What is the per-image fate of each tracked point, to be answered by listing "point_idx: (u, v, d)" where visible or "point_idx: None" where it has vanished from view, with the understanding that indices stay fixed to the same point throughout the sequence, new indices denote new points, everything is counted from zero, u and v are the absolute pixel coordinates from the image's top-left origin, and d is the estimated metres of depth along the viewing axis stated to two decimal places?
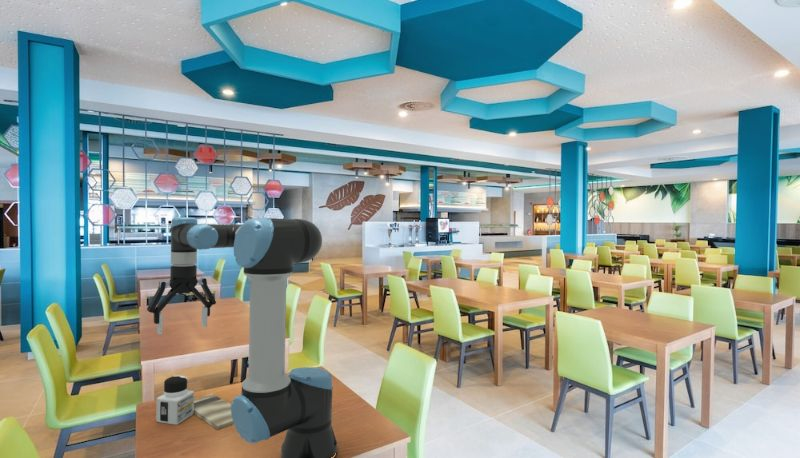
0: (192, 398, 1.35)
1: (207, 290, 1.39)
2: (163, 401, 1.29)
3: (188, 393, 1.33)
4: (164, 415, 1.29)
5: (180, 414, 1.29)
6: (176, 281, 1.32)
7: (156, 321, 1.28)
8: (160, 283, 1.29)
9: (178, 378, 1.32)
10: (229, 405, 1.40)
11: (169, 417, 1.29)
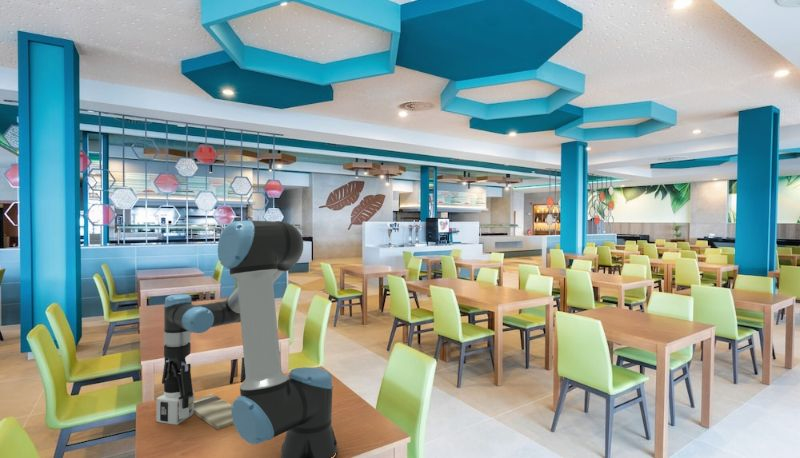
0: (192, 398, 1.34)
1: (182, 379, 1.27)
2: (163, 401, 1.29)
3: None
4: (164, 415, 1.29)
5: None
6: None
7: None
8: None
9: None
10: (229, 405, 1.40)
11: (169, 417, 1.29)
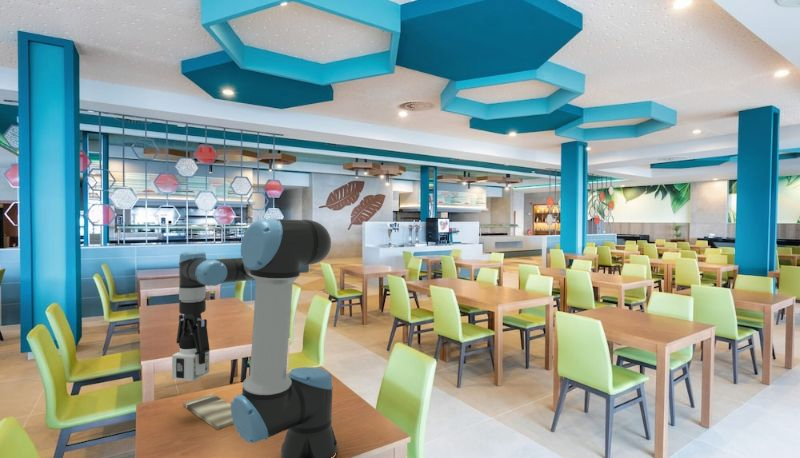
0: (207, 356, 1.33)
1: (198, 334, 1.27)
2: (179, 357, 1.28)
3: None
4: (180, 372, 1.28)
5: None
6: (185, 315, 1.32)
7: None
8: None
9: None
10: (229, 405, 1.40)
11: (185, 374, 1.27)
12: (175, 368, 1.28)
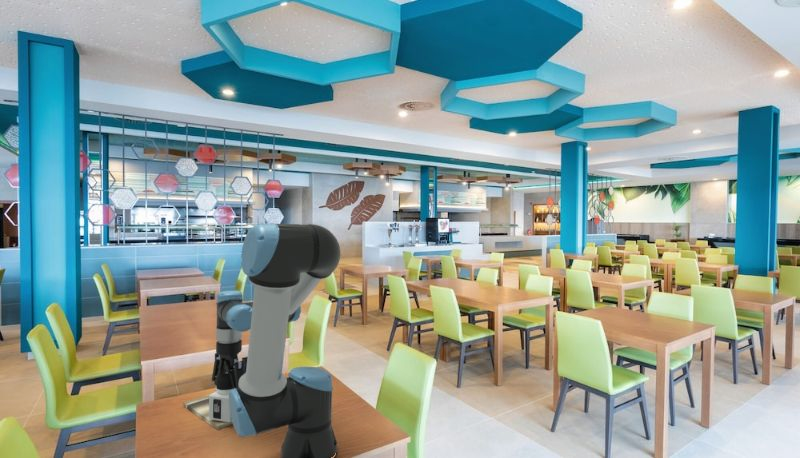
0: None
1: (235, 376, 1.26)
2: (216, 398, 1.28)
3: None
4: (217, 413, 1.28)
5: None
6: (221, 354, 1.32)
7: None
8: None
9: None
10: None
11: (222, 415, 1.27)
12: (212, 409, 1.28)
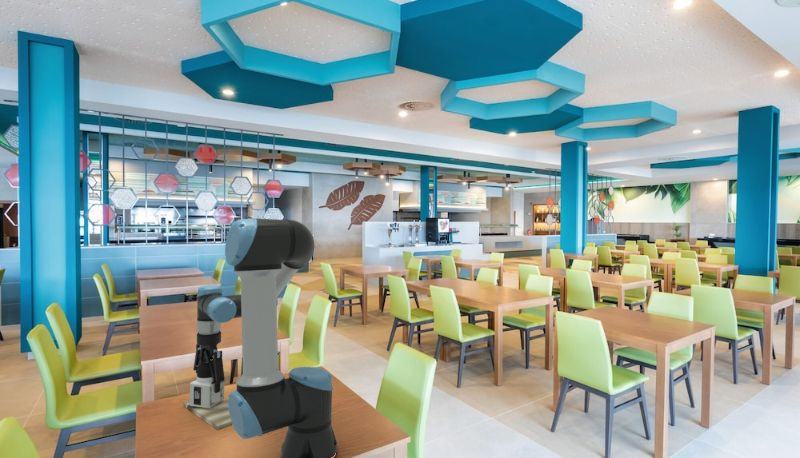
0: (223, 384, 1.42)
1: (214, 365, 1.35)
2: (196, 386, 1.36)
3: None
4: (197, 399, 1.36)
5: None
6: None
7: None
8: None
9: None
10: None
11: (202, 401, 1.36)
12: (193, 395, 1.37)
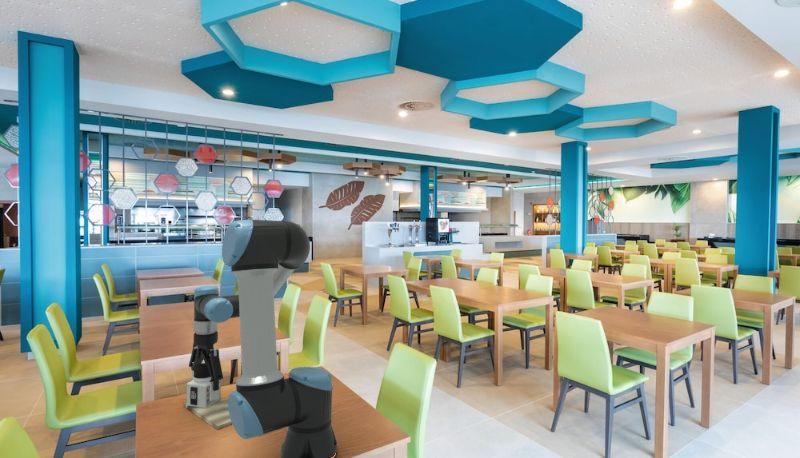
0: (219, 384, 1.43)
1: (212, 363, 1.36)
2: (193, 386, 1.38)
3: None
4: (194, 399, 1.38)
5: (208, 398, 1.38)
6: None
7: None
8: None
9: (206, 365, 1.41)
10: None
11: (198, 401, 1.37)
12: (189, 395, 1.38)
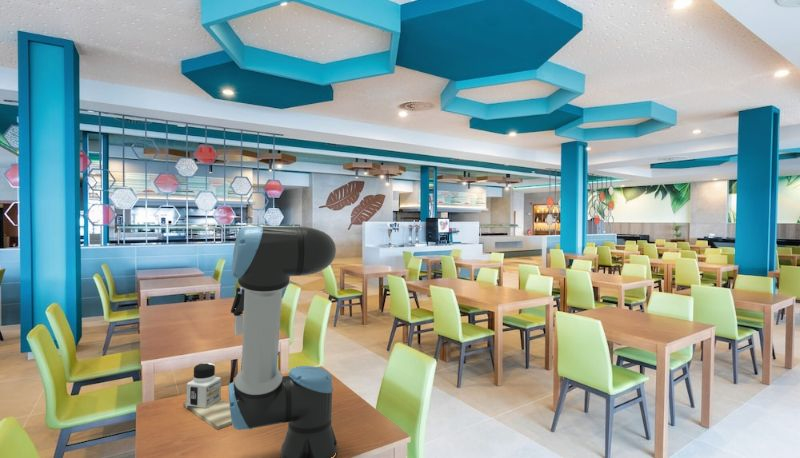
0: (219, 384, 1.43)
1: None
2: (193, 386, 1.38)
3: (216, 379, 1.42)
4: (194, 399, 1.38)
5: (208, 398, 1.38)
6: (243, 289, 1.42)
7: (235, 322, 1.45)
8: None
9: (206, 365, 1.41)
10: (229, 405, 1.40)
11: (198, 401, 1.37)
12: (189, 395, 1.38)
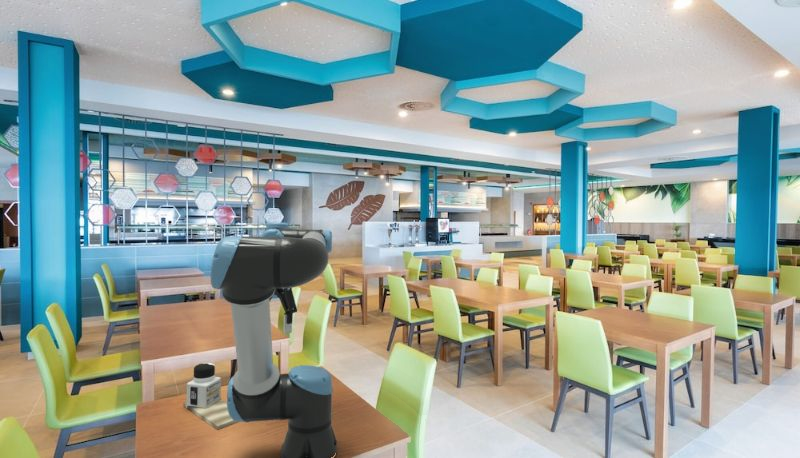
0: (219, 384, 1.43)
1: (285, 296, 1.36)
2: (193, 386, 1.38)
3: (216, 379, 1.42)
4: (194, 399, 1.38)
5: (208, 398, 1.38)
6: None
7: None
8: None
9: (206, 365, 1.41)
10: None
11: (198, 401, 1.37)
12: (189, 395, 1.38)
